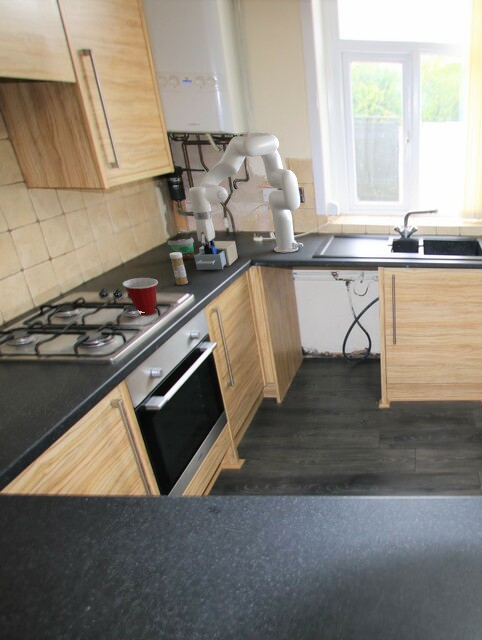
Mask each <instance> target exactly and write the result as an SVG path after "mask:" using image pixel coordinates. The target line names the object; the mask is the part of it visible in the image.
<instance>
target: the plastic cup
mask: <svg viewBox="0 0 482 640" xmlns="http://www.w3.org/2000/svg"><path fill="white" fill-rule="evenodd" d="M158 283H159V281H158V279H155V278H151V277H137V278H136V277H135V278H130V279H127V280H124V281H123V282H122V283H121V284H122V286H123V287H124V288H125V290H126V292H127V294H128V295H129V297H130V300H131V302H132V304H133V306H134V308H135V309H136V310H137V309H138V310H139V311H142V312H145V313H141V315H140V316H149V315H153V314H156V313H157V310H158V308H157V309H156V310H155V309H154V306H157V303H158V301H157V287H158V286H157V285H158Z"/></svg>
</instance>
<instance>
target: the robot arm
mask: <svg viewBox="0 0 482 640" xmlns="http://www.w3.org/2000/svg"><path fill="white" fill-rule="evenodd" d="M279 147H280V142H279V139H278V137H277V136H276V135H274V134H272V133H265V132H251V133H249V134H248V135H247V136H243V135H242V136H241V135H236V136H233V137H232V138H231V139H230V141H229V143H228V145H227V147H226V149H225V150H224V152H223V154H222V156H221V157H220V160H219V161H218V162H217V163H216V164H214V165H213V166H212V167H211V168H210V169H209V170H208V171H207V172H206V173H205V175H204V176H203V178H202V180H201V182H200V184H199V186H192V187H189V189H188V195H189V199H190V203H191V208H192V213H193V219H194V220H195V228H196V229H195V230H196V235H197V241H198V242H200V243H201V245H202V246H203V247H204V251H205V255H213V252H212V248H211V246H215V243H214V241H215V238H216V232H215V227H214V222H213V218H214V217H213V211H212V206H211V204H212V203H213V204H214V203H219V204H220V203H224V202H225V201H226V200H227V199H228V197H229V194H228V191H227V189H226V188H225V187H223V186H221V185H220V184H221V183H222V182H223V181H224V180H226V179H228V178H230V177H233V176H234V175H236V174H237V173H238V172H239V171H240V168H241V167H242V165H243V163H244V161H245V159H246V158H247V157H260V158H261V159H262V162H263V166H264V170H265V175H266V180H267V183H268V185H269V186H271V187H272V188H277V189H274V190H272V191H271V192H270V193H269V194H268V204H269V208H270V211H271V215H272V220H273V221H272V222H273V229H274V236H275V243H276V246H275V247H274V249H273V251H274V252H276V253H281V254H283V253H284V254H285V253H286V254H287V253H294V252H296V251H299V248H303V247H304V243H302V242H297V240H296V239H295V233H294V224H293V216H292V213H291V212H295V211H297V210H298V209H299V208H300V206H301V195H300V189H299V183H298V179H297V176H296V174H295V173H294V172H293V171H291V170H290V169H286V168H284V167H283V163H282V158H281V155H280V154H279V152H278V149H279ZM207 243H208V244H207Z"/></svg>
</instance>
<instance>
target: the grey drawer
mask: <svg viewBox="0 0 482 640" xmlns="http://www.w3.org/2000/svg"><path fill="white" fill-rule="evenodd" d="M216 252H217V254H216V255H205V252H204V250H203V251H201V252H200V251H199V253H197V254H194V258H193V259H194V261H195V267H196V270H197V271H199V270H202V271H203V270H224V267H225V266H224V265H225V264H226V263H227V257H226V252H225V250H216Z"/></svg>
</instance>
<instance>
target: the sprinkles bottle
mask: <svg viewBox="0 0 482 640" xmlns="http://www.w3.org/2000/svg"><path fill="white" fill-rule="evenodd" d="M169 258H170V260H171V265H172V270H173V274H174V278H175V284H176V285H177V286H183V285H186V284H187V285H188V284H189V281H188V278H187V273H186V268H185V264H184V260H183V259H182V253H181V252H173V253H172V252H170V253H169Z"/></svg>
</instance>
